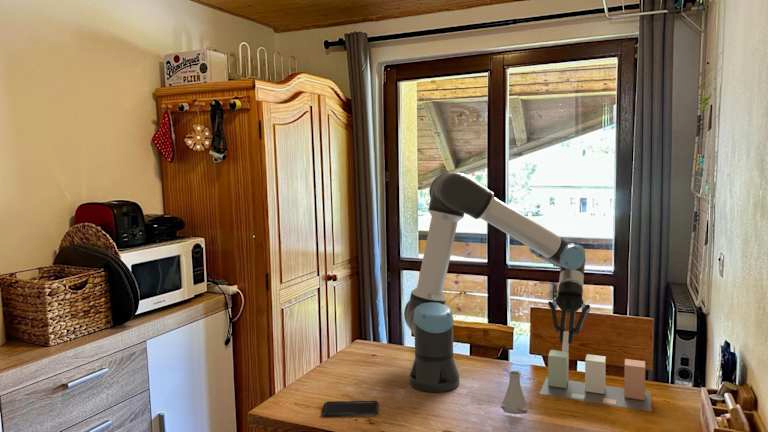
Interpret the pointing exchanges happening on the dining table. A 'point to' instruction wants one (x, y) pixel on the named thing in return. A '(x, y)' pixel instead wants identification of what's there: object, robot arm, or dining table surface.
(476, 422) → the dining table surface
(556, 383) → the pale green tall block
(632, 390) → the pink tall block
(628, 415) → the dining table surface
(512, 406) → the flask
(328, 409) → the phone
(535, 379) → the dining table surface
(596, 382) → the cream tall block
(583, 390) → the grey board
